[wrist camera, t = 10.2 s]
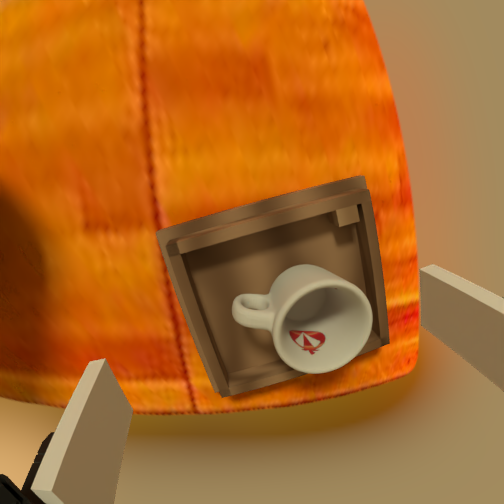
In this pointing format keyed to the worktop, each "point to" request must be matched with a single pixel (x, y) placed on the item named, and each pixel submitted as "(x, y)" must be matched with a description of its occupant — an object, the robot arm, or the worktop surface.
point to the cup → (310, 318)
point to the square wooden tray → (270, 272)
